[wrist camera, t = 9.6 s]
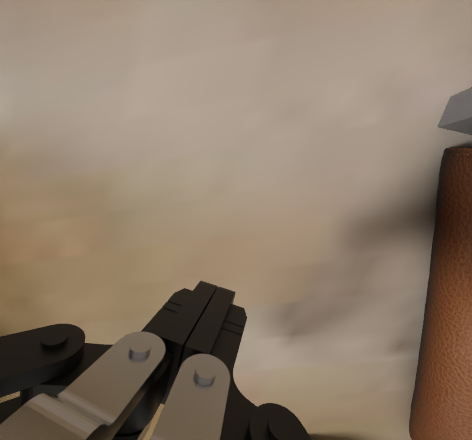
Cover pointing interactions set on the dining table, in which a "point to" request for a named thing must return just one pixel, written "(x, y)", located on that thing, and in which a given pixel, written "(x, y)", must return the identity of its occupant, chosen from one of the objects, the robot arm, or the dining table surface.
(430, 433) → the sunglasses case
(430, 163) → the dining table surface
